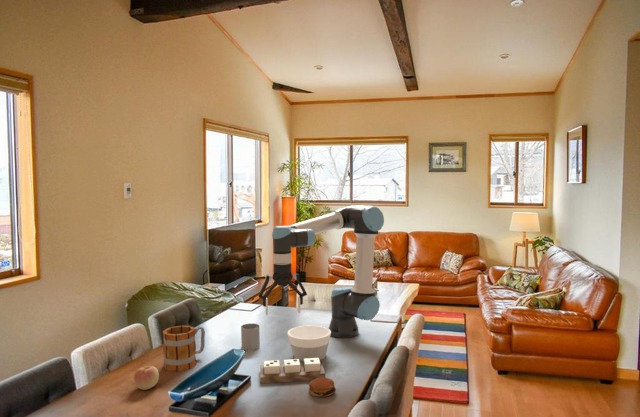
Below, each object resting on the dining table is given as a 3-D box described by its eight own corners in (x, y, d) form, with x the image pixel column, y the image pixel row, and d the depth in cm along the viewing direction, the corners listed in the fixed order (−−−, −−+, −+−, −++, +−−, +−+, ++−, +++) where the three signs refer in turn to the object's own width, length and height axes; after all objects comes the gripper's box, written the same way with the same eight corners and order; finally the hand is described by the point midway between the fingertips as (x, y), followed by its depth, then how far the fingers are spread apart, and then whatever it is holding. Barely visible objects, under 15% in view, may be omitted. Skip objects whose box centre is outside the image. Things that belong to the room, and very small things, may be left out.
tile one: (318, 366, 196) (318, 357, 196) (320, 372, 190) (320, 362, 190) (303, 367, 195) (303, 358, 195) (305, 373, 189) (305, 363, 189)
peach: (135, 394, 176) (134, 373, 176) (134, 385, 184) (133, 364, 184) (160, 390, 180) (159, 369, 179) (158, 381, 188) (157, 361, 187)
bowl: (336, 350, 219) (336, 327, 218) (323, 366, 200) (322, 341, 200) (297, 346, 225) (297, 323, 224) (280, 361, 207) (280, 336, 206)
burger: (304, 391, 177) (303, 379, 177) (324, 385, 183) (324, 373, 182) (319, 401, 169) (319, 388, 169) (340, 394, 175) (340, 381, 174)
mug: (175, 374, 194) (174, 337, 193) (156, 366, 203) (155, 331, 202) (214, 359, 210) (213, 325, 209) (195, 352, 218) (194, 320, 217)
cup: (256, 351, 219) (255, 329, 219) (239, 349, 221) (238, 328, 220) (262, 344, 228) (261, 323, 227) (245, 343, 229) (245, 323, 229)
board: (321, 367, 199) (321, 361, 199) (325, 379, 187) (325, 373, 187) (260, 371, 196) (260, 365, 196) (260, 383, 184) (260, 377, 184)
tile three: (279, 368, 194) (279, 359, 194) (279, 374, 188) (279, 365, 188) (264, 369, 193) (263, 360, 193) (264, 375, 187) (264, 366, 187)
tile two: (299, 367, 195) (298, 358, 195) (300, 373, 189) (300, 364, 189) (284, 368, 194) (284, 359, 194) (284, 374, 188) (284, 365, 188)
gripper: (310, 260, 207) (310, 309, 209) (251, 262, 203) (252, 312, 204) (313, 263, 200) (313, 313, 201) (252, 265, 196) (253, 317, 197)
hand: (283, 313), depth 203 cm, fingers open, 13 cm apart
